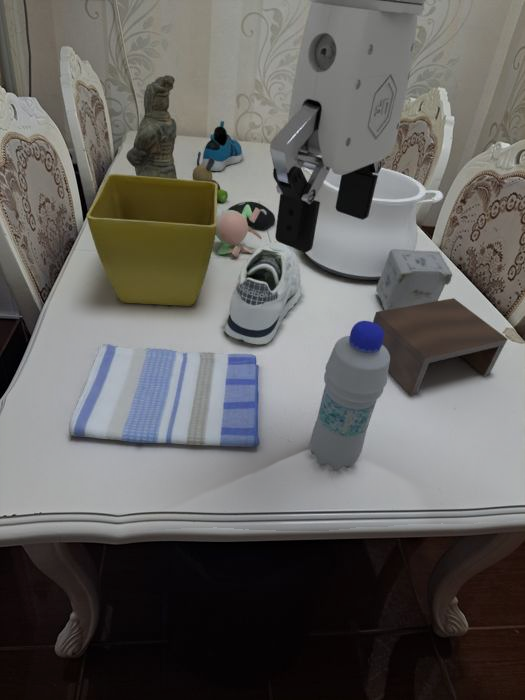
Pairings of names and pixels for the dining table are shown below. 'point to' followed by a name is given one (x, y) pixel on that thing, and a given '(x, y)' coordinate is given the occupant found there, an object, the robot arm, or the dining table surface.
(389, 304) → the white printed box
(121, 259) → the flower pot
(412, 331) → the shelf
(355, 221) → the pot
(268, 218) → the computer mouse
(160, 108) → the statue
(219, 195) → the tan rounded piece
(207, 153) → the shoe
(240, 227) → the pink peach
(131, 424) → the dish towel
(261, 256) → the running shoe
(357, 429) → the bottle
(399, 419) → the dining table surface
